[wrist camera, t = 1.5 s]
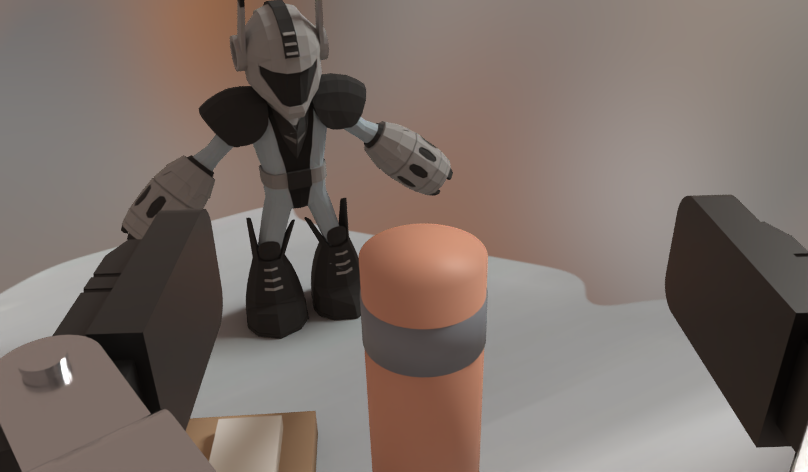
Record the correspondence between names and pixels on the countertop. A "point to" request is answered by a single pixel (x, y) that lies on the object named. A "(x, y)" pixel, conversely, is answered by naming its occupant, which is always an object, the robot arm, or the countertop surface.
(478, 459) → the banded orange cylinder
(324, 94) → the robot
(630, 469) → the countertop surface
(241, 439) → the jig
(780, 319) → the robot arm
